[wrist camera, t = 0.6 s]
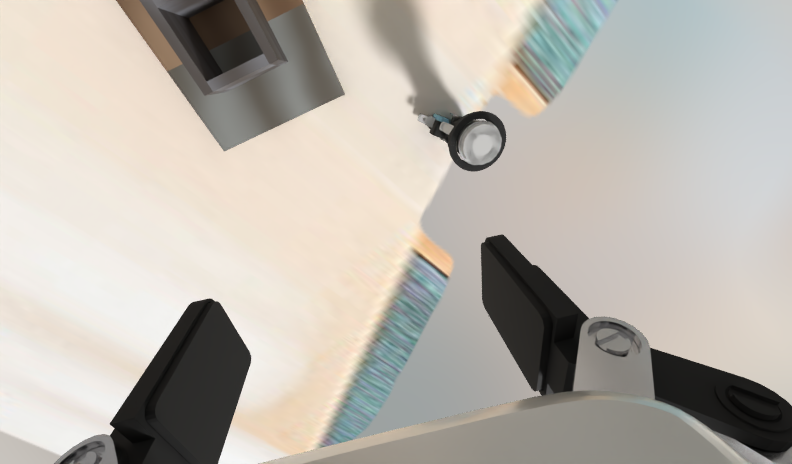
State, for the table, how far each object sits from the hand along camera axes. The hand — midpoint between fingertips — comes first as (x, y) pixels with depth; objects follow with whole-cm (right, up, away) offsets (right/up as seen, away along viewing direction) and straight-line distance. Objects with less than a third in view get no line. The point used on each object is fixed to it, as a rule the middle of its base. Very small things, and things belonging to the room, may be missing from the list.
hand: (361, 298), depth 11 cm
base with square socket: (-14, +21, +18) cm, 30 cm away
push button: (+7, +15, +25) cm, 30 cm away
